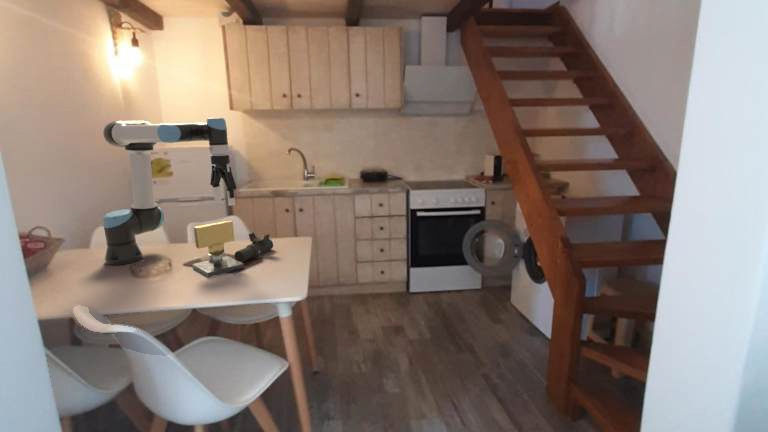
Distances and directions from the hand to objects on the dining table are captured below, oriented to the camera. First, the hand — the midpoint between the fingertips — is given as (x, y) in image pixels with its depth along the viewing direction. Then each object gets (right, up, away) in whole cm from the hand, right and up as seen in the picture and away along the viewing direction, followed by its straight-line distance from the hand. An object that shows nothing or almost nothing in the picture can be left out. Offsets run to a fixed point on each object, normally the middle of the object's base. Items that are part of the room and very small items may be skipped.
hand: (224, 203), depth 183 cm
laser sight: (+8, -25, +20) cm, 33 cm away
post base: (-4, -29, +3) cm, 29 cm away
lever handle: (-4, -22, +1) cm, 22 cm away
